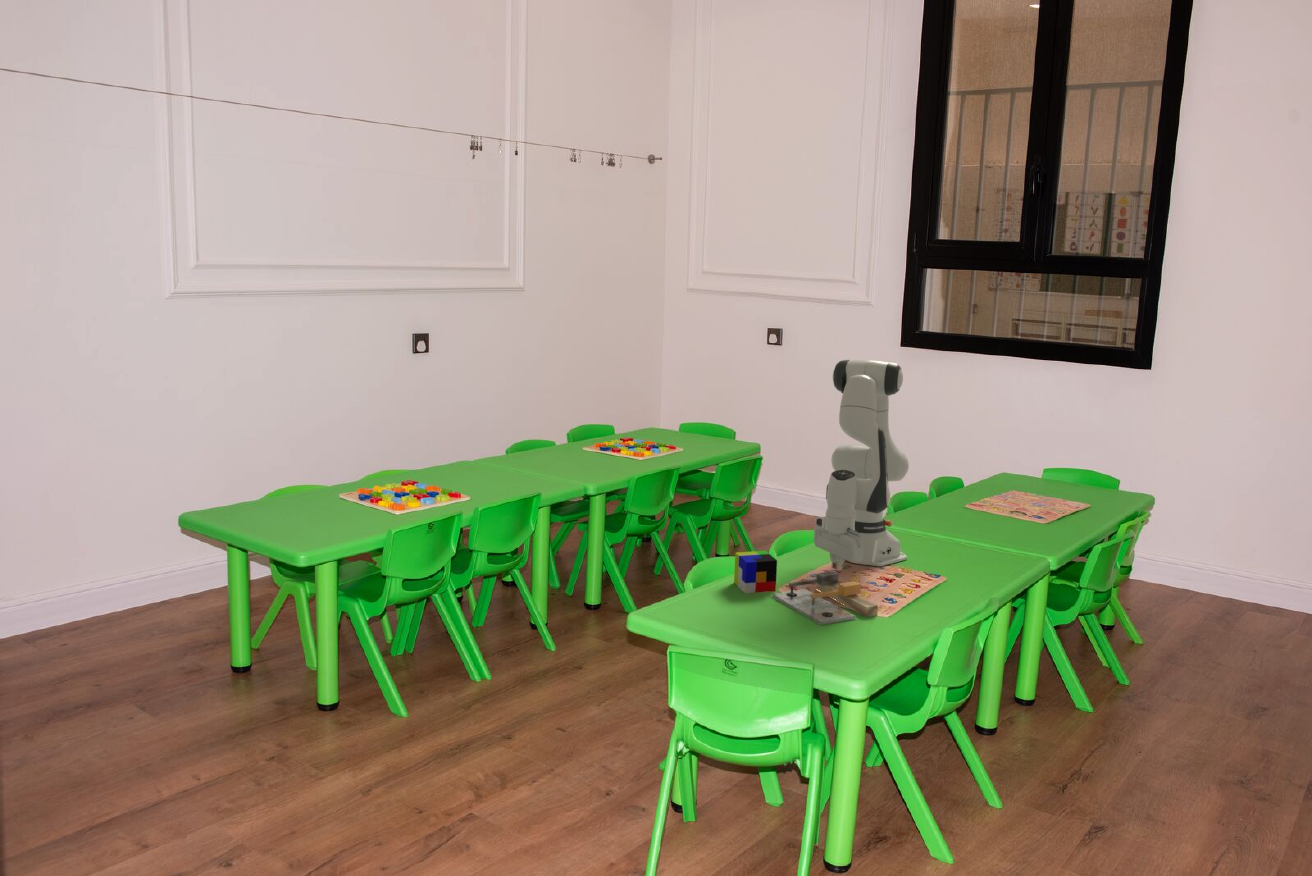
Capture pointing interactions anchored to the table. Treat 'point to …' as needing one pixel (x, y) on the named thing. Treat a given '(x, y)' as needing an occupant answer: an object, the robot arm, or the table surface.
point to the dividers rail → (829, 583)
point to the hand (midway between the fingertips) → (836, 568)
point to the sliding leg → (840, 591)
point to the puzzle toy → (755, 572)
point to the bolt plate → (813, 607)
